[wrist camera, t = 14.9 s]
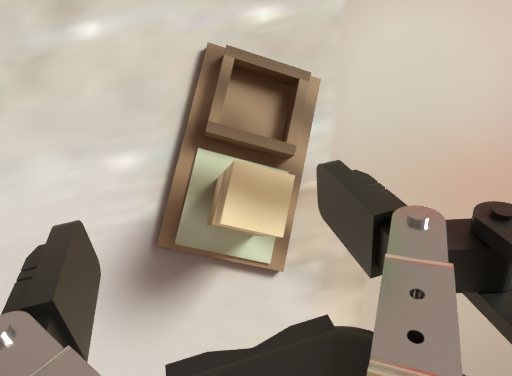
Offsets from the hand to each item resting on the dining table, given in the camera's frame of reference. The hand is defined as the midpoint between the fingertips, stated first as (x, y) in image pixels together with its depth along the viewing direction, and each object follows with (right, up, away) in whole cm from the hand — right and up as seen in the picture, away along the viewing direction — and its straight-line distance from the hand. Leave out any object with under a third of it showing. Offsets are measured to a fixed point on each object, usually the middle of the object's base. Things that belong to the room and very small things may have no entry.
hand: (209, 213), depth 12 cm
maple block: (0, -1, +22) cm, 22 cm away
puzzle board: (0, +4, +24) cm, 24 cm away
